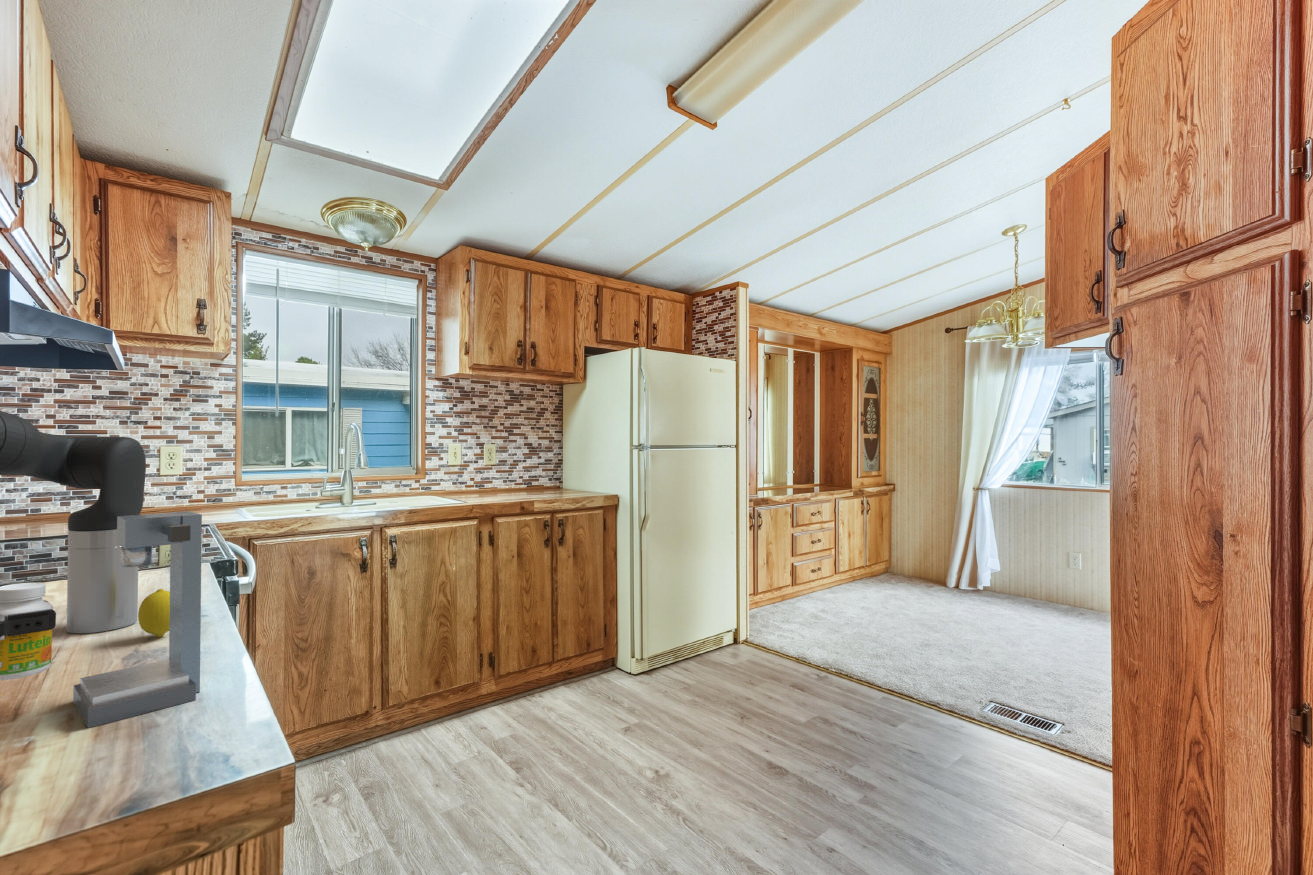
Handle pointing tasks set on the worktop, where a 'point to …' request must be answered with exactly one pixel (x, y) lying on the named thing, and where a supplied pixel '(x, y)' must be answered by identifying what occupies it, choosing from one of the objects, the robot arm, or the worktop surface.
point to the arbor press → (181, 672)
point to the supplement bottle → (29, 649)
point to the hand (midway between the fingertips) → (51, 614)
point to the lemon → (155, 613)
